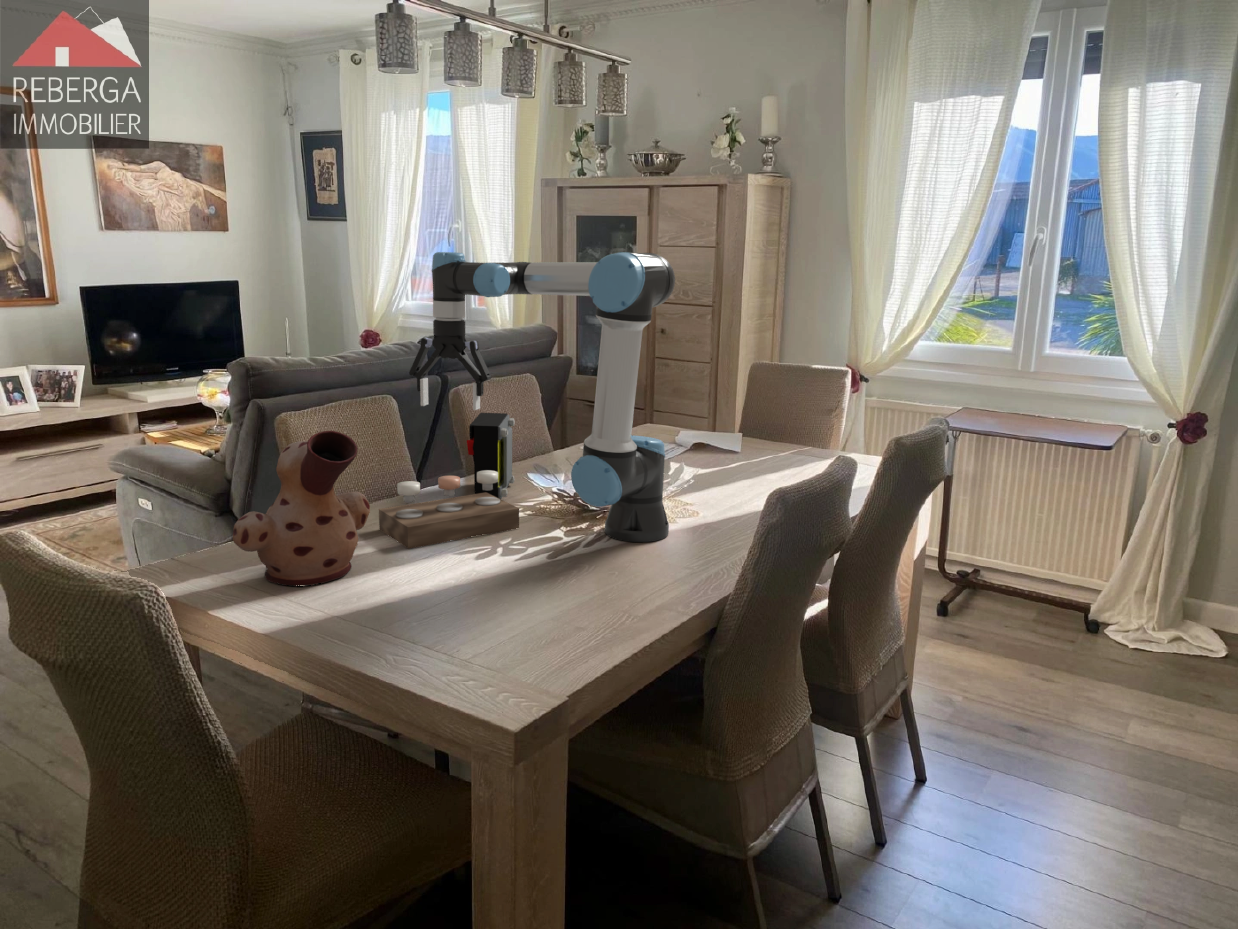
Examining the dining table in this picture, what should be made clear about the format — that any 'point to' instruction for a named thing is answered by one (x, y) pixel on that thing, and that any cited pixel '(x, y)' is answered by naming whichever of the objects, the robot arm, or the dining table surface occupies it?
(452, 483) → the middle knob
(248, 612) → the dining table surface
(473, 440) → the electrical component
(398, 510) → the knob bar
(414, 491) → the left knob
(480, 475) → the right knob
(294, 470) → the vessel
